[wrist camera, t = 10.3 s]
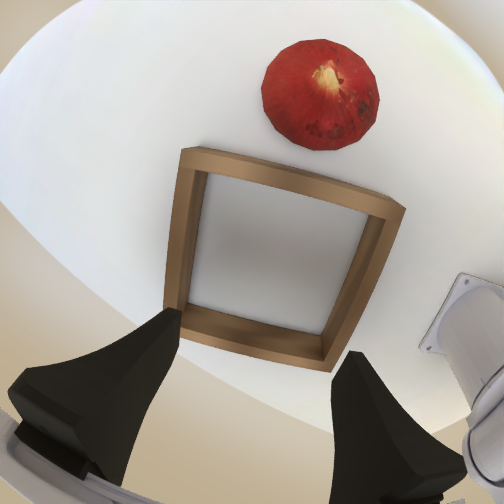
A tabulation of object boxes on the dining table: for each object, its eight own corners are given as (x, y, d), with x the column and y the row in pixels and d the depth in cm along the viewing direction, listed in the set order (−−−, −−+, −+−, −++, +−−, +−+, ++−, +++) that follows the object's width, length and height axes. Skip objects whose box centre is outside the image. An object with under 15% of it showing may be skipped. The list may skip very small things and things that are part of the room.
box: (389, 197, 17) (406, 208, 15) (327, 347, 23) (330, 372, 20) (197, 146, 18) (181, 148, 15) (175, 309, 23) (162, 331, 20)
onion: (376, 101, 15) (434, 82, 8) (322, 166, 17) (347, 189, 10) (303, 44, 14) (312, -13, 7) (248, 110, 16) (218, 91, 9)
